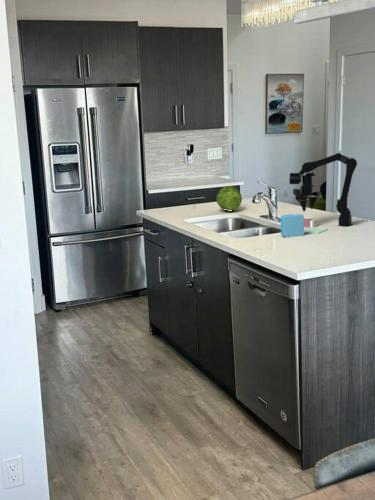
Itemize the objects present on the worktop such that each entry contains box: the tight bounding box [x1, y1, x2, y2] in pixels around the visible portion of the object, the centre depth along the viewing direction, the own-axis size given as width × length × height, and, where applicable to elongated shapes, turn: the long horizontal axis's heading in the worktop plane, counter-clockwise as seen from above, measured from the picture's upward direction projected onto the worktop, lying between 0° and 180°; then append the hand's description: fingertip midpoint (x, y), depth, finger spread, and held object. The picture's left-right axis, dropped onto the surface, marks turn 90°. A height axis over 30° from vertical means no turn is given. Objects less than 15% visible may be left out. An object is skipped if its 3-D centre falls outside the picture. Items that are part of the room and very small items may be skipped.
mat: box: [304, 227, 329, 235], centre depth 343 cm, size 14×12×1 cm
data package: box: [280, 213, 305, 238], centre depth 332 cm, size 12×4×12 cm, turn 105°
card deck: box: [304, 218, 319, 228], centre depth 357 cm, size 6×9×4 cm, turn 49°
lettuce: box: [216, 185, 243, 211], centre depth 431 cm, size 18×23×19 cm
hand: (308, 209), depth 356 cm, fingers open, 9 cm apart
